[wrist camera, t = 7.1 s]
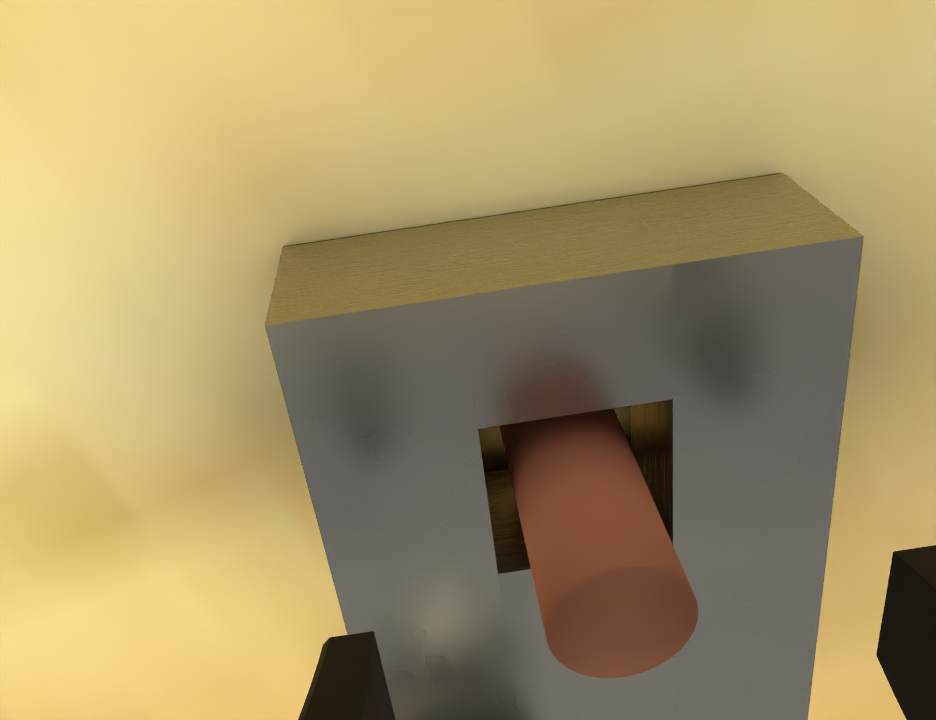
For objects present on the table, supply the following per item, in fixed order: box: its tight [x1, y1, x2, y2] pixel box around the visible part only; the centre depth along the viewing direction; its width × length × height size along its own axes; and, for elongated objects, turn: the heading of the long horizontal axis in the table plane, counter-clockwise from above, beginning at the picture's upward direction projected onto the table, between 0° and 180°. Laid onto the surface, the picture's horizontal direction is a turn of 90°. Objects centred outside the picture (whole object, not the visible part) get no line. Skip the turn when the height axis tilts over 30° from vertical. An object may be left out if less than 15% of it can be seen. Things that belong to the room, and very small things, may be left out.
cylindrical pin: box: [500, 408, 698, 678], centre depth 15 cm, size 2×2×6 cm
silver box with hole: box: [265, 173, 864, 720], centre depth 16 cm, size 9×14×7 cm, turn 7°
